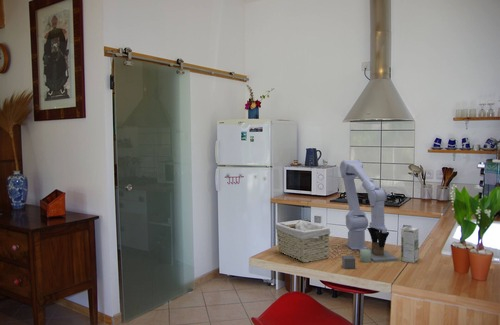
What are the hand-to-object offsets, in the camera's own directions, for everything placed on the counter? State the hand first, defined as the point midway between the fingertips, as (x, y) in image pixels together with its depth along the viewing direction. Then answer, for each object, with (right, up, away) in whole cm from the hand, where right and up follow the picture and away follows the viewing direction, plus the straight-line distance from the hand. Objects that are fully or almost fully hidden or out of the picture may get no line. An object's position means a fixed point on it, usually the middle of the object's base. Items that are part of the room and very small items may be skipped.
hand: (378, 245), depth 181 cm
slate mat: (0, -5, +1) cm, 5 cm away
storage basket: (-34, -6, +6) cm, 35 cm away
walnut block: (0, -4, 0) cm, 4 cm away
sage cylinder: (-8, -6, -7) cm, 12 cm away
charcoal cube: (-17, -6, -15) cm, 23 cm away
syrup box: (+12, -5, -8) cm, 15 cm away
